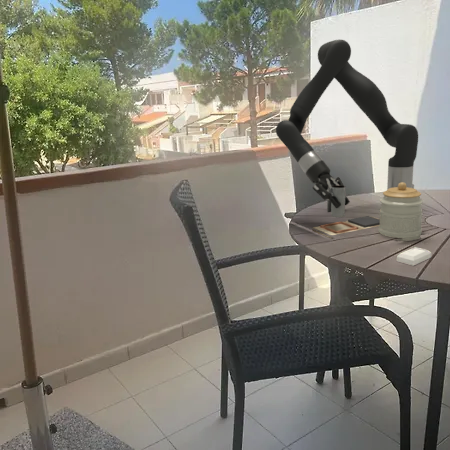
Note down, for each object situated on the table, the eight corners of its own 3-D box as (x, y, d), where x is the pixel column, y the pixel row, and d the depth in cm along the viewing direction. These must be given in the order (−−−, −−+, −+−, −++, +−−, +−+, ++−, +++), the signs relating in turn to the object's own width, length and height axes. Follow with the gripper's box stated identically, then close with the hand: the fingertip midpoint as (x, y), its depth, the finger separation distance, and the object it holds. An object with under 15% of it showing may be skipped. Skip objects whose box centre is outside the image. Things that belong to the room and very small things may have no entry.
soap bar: (396, 262, 120) (397, 253, 120) (414, 254, 125) (414, 245, 125) (413, 267, 116) (413, 257, 116) (430, 258, 122) (431, 249, 121)
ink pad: (367, 218, 159) (367, 216, 159) (385, 223, 151) (385, 221, 151) (347, 221, 156) (347, 219, 156) (364, 227, 148) (365, 225, 148)
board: (371, 219, 162) (371, 214, 161) (393, 226, 152) (393, 221, 151) (312, 230, 152) (312, 225, 152) (331, 238, 142) (331, 233, 142)
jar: (417, 244, 133) (421, 187, 128) (374, 239, 140) (376, 185, 135) (424, 232, 143) (427, 179, 139) (383, 228, 150) (385, 178, 145)
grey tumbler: (329, 214, 150) (330, 185, 148) (341, 213, 151) (342, 184, 148) (333, 218, 146) (334, 188, 143) (346, 217, 146) (347, 187, 144)
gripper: (307, 162, 144) (338, 202, 139) (332, 157, 153) (362, 194, 148) (295, 176, 149) (324, 216, 144) (319, 171, 158) (347, 207, 153)
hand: (343, 205), depth 146 cm, fingers closed on grey tumbler, 4 cm apart
